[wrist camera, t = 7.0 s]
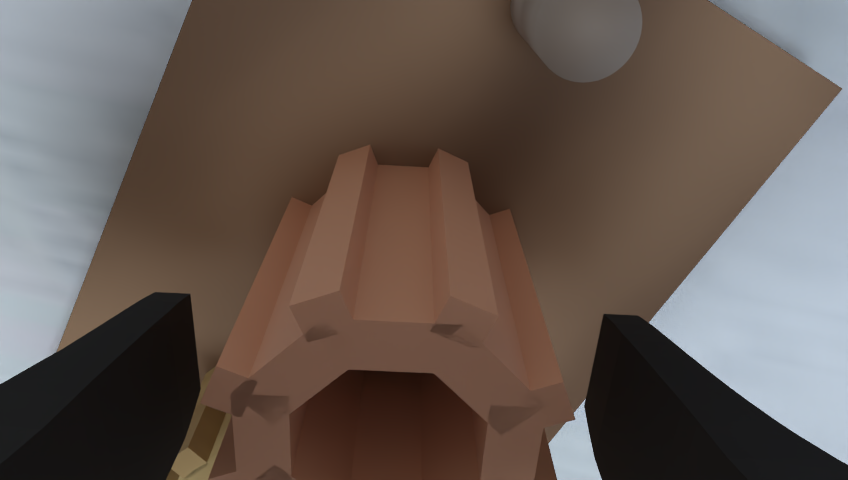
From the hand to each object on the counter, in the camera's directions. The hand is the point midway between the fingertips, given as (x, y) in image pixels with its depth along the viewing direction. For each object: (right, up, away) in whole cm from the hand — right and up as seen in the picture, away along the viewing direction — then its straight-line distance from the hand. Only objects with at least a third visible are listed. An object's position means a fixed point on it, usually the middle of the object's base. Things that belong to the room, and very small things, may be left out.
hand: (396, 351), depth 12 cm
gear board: (-1, 0, +5) cm, 6 cm away
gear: (0, +2, +3) cm, 4 cm away
